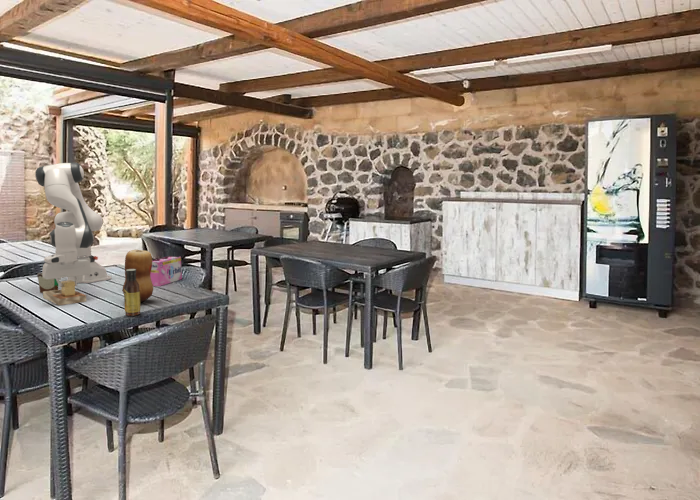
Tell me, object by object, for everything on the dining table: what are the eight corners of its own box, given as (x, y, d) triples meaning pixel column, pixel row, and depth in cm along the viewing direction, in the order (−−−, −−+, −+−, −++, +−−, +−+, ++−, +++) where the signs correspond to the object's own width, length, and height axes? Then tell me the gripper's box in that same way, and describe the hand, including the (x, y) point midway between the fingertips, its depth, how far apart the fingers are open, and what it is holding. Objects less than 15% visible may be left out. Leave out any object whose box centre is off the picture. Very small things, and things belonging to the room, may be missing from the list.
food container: (66, 292, 262) (65, 273, 260) (56, 294, 256) (55, 275, 254) (48, 290, 266) (47, 271, 264) (37, 292, 260) (36, 273, 258)
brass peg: (71, 294, 245) (71, 280, 244) (75, 296, 242) (74, 281, 241) (61, 295, 242) (61, 281, 241) (65, 297, 239) (64, 282, 238)
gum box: (171, 277, 306) (171, 255, 304) (183, 278, 304) (183, 256, 302) (146, 285, 283) (145, 261, 281) (159, 286, 281) (158, 262, 279)
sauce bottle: (127, 312, 225) (126, 268, 223) (142, 312, 226) (141, 268, 223) (122, 316, 219) (120, 270, 216) (137, 316, 220) (136, 270, 217)
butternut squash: (152, 305, 240) (150, 251, 237) (121, 306, 236) (119, 252, 233) (154, 298, 253) (153, 248, 250) (125, 299, 249) (123, 248, 246)
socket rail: (69, 294, 258) (69, 287, 258) (86, 301, 244) (86, 294, 243) (43, 297, 249) (42, 291, 249) (58, 305, 235) (58, 298, 235)
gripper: (87, 254, 249) (88, 282, 251) (40, 258, 234) (41, 288, 236) (92, 256, 245) (93, 284, 247) (44, 260, 230) (46, 290, 232)
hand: (68, 286), depth 241 cm, fingers closed on brass peg, 4 cm apart
